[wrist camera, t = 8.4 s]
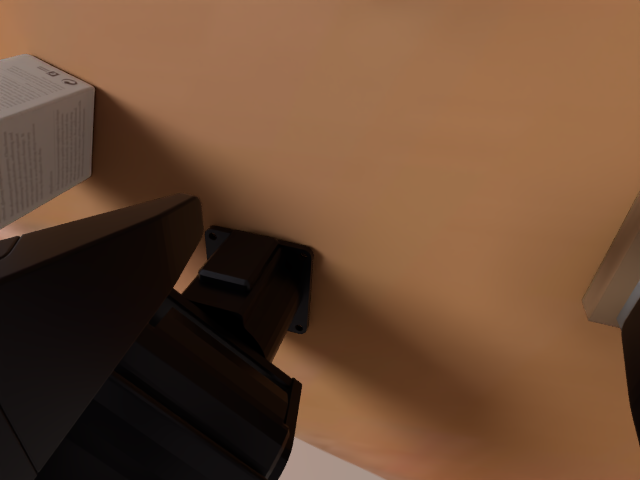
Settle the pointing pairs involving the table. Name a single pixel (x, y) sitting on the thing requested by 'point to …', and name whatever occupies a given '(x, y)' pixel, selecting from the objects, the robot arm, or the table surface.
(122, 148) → the table surface
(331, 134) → the table surface
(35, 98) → the skincare box
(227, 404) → the robot arm
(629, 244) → the cracker base
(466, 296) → the table surface
